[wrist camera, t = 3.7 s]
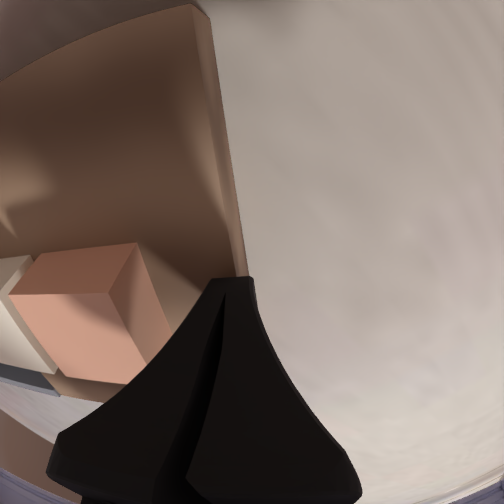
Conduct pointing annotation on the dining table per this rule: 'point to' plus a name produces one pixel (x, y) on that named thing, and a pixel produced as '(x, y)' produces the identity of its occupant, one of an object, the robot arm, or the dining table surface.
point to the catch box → (26, 379)
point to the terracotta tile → (93, 311)
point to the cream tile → (18, 323)
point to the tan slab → (124, 160)
